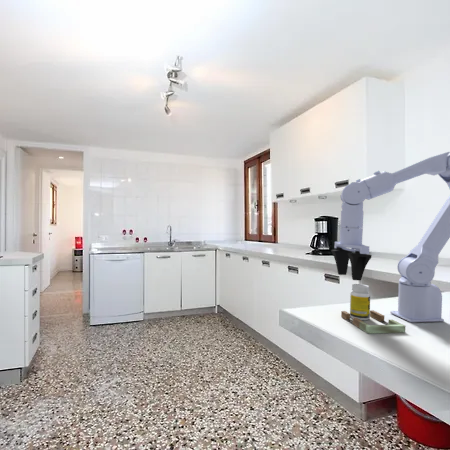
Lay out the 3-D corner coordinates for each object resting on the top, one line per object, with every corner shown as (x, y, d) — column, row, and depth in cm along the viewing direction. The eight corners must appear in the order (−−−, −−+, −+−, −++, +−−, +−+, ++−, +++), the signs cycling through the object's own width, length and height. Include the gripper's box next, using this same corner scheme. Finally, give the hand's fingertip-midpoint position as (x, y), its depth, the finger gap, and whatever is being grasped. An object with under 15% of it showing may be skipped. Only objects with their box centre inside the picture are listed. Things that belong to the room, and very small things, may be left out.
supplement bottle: (371, 321, 79) (372, 287, 79) (351, 319, 80) (352, 286, 79) (367, 315, 83) (368, 284, 83) (348, 314, 84) (349, 283, 84)
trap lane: (373, 316, 83) (373, 310, 83) (405, 332, 71) (405, 325, 71) (341, 316, 82) (341, 311, 82) (368, 333, 70) (368, 326, 70)
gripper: (325, 226, 93) (323, 272, 93) (351, 228, 79) (349, 282, 79) (348, 227, 94) (345, 272, 94) (378, 229, 80) (375, 282, 80)
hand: (349, 277), depth 87 cm, fingers open, 7 cm apart
